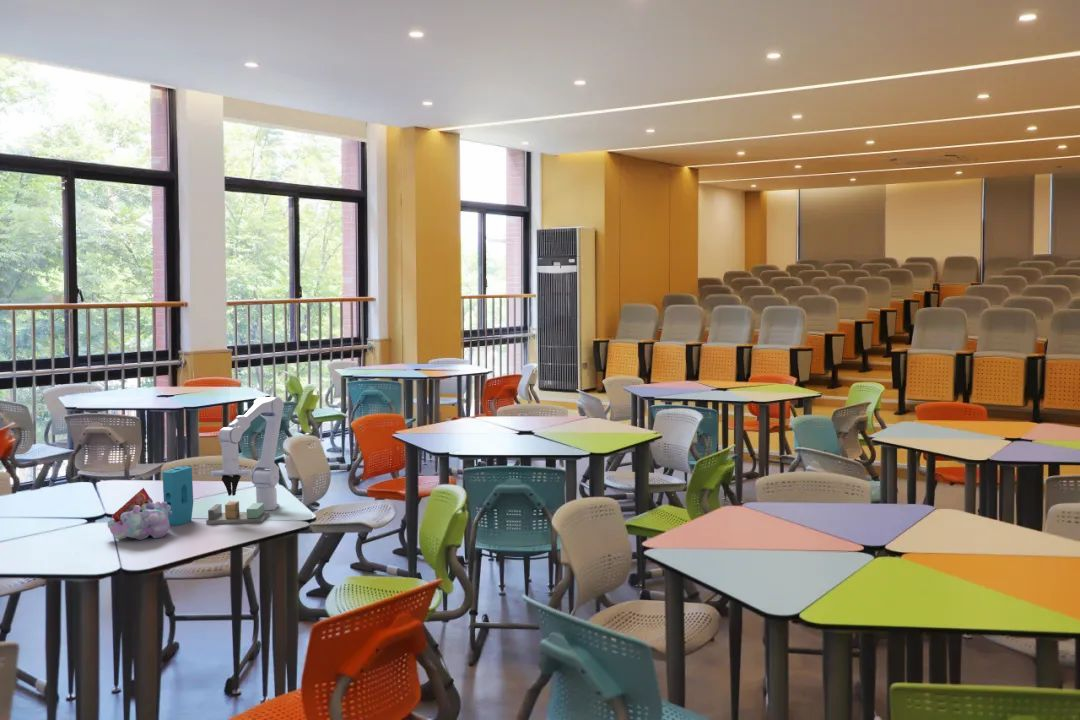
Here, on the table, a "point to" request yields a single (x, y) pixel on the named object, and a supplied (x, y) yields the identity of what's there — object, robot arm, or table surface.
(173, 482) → the block
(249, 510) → the block
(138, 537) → the lumpy lavender blob
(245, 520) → the vise
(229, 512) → the walnut block
